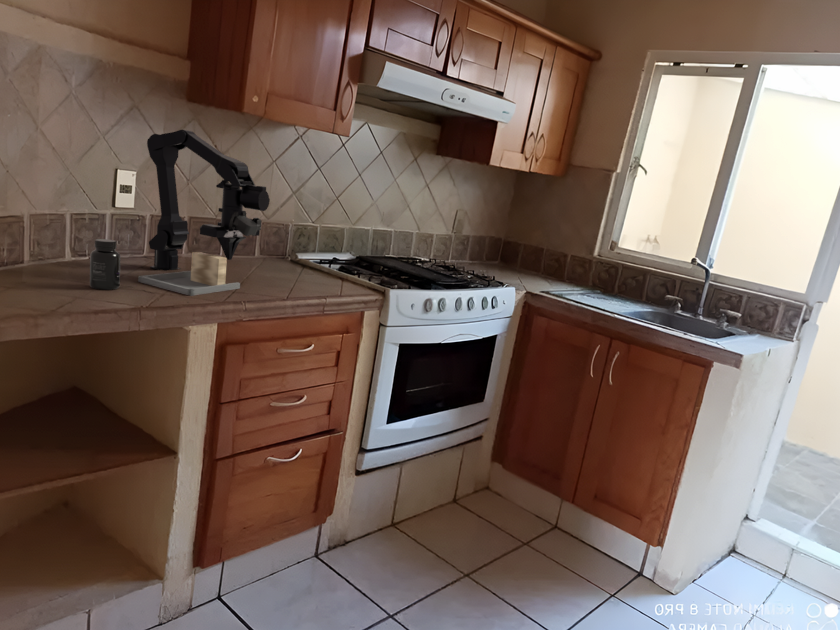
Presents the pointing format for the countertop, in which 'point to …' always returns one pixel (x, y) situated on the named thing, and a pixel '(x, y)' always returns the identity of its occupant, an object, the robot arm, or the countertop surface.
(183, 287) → the mat
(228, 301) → the countertop surface
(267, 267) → the countertop surface
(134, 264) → the countertop surface
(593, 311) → the countertop surface
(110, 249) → the supplement bottle
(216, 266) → the wooden block
